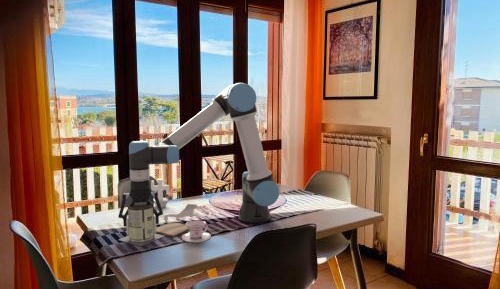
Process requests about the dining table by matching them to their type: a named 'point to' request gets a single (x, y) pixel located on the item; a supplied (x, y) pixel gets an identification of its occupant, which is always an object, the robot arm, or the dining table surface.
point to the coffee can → (141, 222)
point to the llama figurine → (186, 212)
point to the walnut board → (172, 229)
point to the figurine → (160, 192)
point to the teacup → (196, 232)
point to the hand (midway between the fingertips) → (141, 232)
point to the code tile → (126, 239)
